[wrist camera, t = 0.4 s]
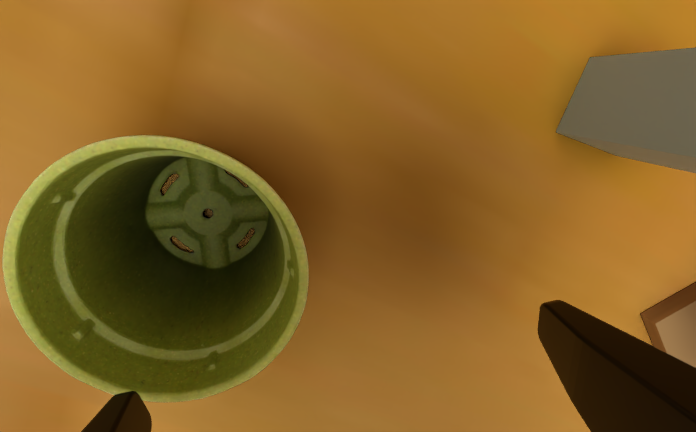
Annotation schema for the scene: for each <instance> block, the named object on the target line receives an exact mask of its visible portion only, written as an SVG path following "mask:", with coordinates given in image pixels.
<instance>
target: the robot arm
mask: <svg viewBox="0 0 696 432" xmlns="http://www.w3.org/2000/svg"><path fill="white" fill-rule="evenodd" d="M538 335H539V338H540V341H541V343H542V345H543V347H544V349H545V351H546V353H547V355H548V357H549V358H550V360H551V362H552V364H553V366H554V368H555V370H556V372H557V374H558V376H559V378H560V380H561V382H562V384H563V386H564V388H565V390H566V392H567V393H568V395H569V397H570V399H571V401H572V403H573V404H574V406H575V407H576V409H577V411H578V412H579V414H580V415H581V417H582V418H583V420H584V421H585V423H586V425H587V426H588V428H589V429H590V431H591V432H696V368H695V367H693V366H691V365H689V364H687V363H685V362H683V361H682V360H680V359H678V358H676V357H674V356H672V355H670V354H668V353H666V352H664V351H662V350H660V349H658V348H656V347H654V346H652V345H650V344H648V343H646V342H644V341H642V340H640V339H638V338H636V337H634V336H632V335H630V334H628V333H626V332H624V331H622V330H620V329H618V328H616V327H614V326H612V325H610V324H608V323H606V322H604V321H602V320H600V319H598V318H596V317H594V316H592V315H590V314H588V313H586V312H584V311H582V310H580V309H578V308H576V307H574V306H572V305H570V304H568V303H566V302H564V301H561V300H555V301H550V302H545V303H543V304H542V305H541V306H540V312H539V321H538ZM151 426H152V421H151V416H150V413H149V412H148V410H147V408H146V406H145V404H144V403H143V401H142V399H141V397H140V395H139V394H138V393H137V392H136V391H129V392H124V393H120V394H116V395H115V396H113V397H112V398H111V399H110V400H109V401H108V402H107V404H106V405H105V406H104V407H103V408H102V409H101V410H100V411H99V412H98V414H97V415H96V416H95V417H94V418H93V419H92V420H91V421H90V423H89V424H88V425H87V426H86V427H85V428H84V429H83V430H82V431H81V432H151Z"/></svg>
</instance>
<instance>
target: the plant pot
mask: <svg viewBox="0 0 696 432" xmlns="http://www.w3.org/2000/svg"><path fill="white" fill-rule="evenodd" d="M225 170H226V171H228V172H230V173H232V174H233V175H235V176H236V177H238V178H239V179H241V180H242V181H243V182H244V183H246V184H247V185H248V187H244V186H243V185H242V184H241V183H240V182H239V181H238V180H236V179H235V178H234V177H232V176H231V175H228V174H227V173H226V172H225ZM175 173H176V174H178V175H179V177H178V178H177V179H176V181H175V182H174V183H173V184H172V185H171V186H170V187H169V189H168V190H167V192H166V193H165V195H162V194H161V192H160V189H161V187H162V185H163V184H164V183H165V181H166V180H167V178H168V177H169V176H170V175H171V174H175ZM206 209H210V210H212V212H213V215H212V216H211V218H205V217H204V216H203V211H204V210H206ZM250 228H254V230H255V234H254V235H253V236H252V237H251V238H250V240H249V242H248V244H247V245H246V246H244V247H243V248H237V244H238V243H239V242H240V241H241V240H242V239H243V238H244V237H245V236H246V234H247V233H248V232H249V230H250ZM172 236H175V237H176V238H177V239H178V240H179V241H181V242H182V243H183V244H184V245H186V246H187V247H189V248H190V250H193V251H194V253H193V252H192V253H188V252H185V251H183V250H181V249H179V248H177V247H176V246H175V245H174V244H173V243H172V241H171V239H170V238H171V237H172ZM2 261H3V273H4V281H5V286H6V291H7V294H8V297H9V300H10V303H11V306H12V309H13V311H14V313H15V315H16V317H17V319H18V320H19V322H20V324H21V326H22V327H23V329H24V330H25V332H26V333H27V335H28V336H29V338H30V339H31V340H32V341H33V343H34V344H35V345H36V346H37V347H38V348H39V349H40V350H41V352H42V353H43V354H44V355H46V356H47V357H48V358H49V359H50V360H51V361H52V362H54V363H55V364H56V365H57V366H58V367H60V368H61V369H62V370H63V371H65V372H66V373H68V374H69V375H71V376H72V377H74V378H76V379H78V380H80V381H82V382H84V383H86V384H88V385H90V386H93V387H94V388H97V389H100V390H102V391H104V392H107V393H110V394H113V395H116V394H120V393H124V392H129V391H136V392H137V393H138V394H139V395H140V397H141V399H142V400H143V401H149V402H182V401H190V400H197V399H202V398H206V397H209V396H212V395H215V394H218V393H221V392H223V391H226V390H228V389H230V388H233V387H235V386H237V385H239V384H241V383H243V382H245V381H247V380H249V379H250V378H252V377H254V376H255V375H257V374H258V373H259V372H261V371H262V370H263V369H264V368H265V367H267V366H268V365H269V364H270V363H271V362H272V361H273V360H274V359H275V357H276V356H277V355H278V354H279V353H280V352H281V351H282V350H283V349H284V347H285V346H286V345H287V343H288V342H289V340H290V339H291V337H292V335H293V334H294V332H295V330H296V328H297V326H298V324H299V322H300V320H301V317H302V314H303V312H304V308H305V305H306V301H307V294H308V284H309V267H308V258H307V252H306V247H305V244H304V241H303V238H302V235H301V232H300V229H299V227H298V225H297V223H296V221H295V219H294V217H293V215H292V213H291V212H290V210H289V209H288V207H287V206H286V204H285V203H284V201H283V200H282V199H281V197H280V196H279V195H278V194H277V192H276V191H275V190H274V189H273V188H272V187H271V186H270V185H269V184H268V183H267V182H266V181H265V180H264V179H263V178H262V177H260V176H259V175H258V174H257V173H255V172H254V171H253V170H252V169H250V168H249V167H247V166H246V165H244V164H243V163H241V162H240V161H238V160H236V159H234V158H232V157H230V156H229V155H227V154H225V153H223V152H220V151H218V150H215V149H213V148H211V147H208V146H206V145H203V144H200V143H196V142H193V141H189V140H185V139H181V138H176V137H168V136H160V135H134V136H124V137H117V138H112V139H107V140H103V141H99V142H95V143H92V144H89V145H86V146H84V147H82V148H80V149H77V150H75V151H73V152H71V153H69V154H67V155H65V156H64V157H62V158H61V159H59V160H58V161H56V162H55V163H53V164H52V165H50V166H49V167H48V168H47V169H46V170H45V171H44V172H42V173H41V174H40V175H39V176H38V177H37V178H36V179H35V180H34V182H33V183H32V184H31V185H30V187H29V188H28V189H27V190H26V192H25V193H24V194H23V196H22V197H21V199H20V201H19V202H18V204H17V205H16V207H15V209H14V211H13V213H12V216H11V218H10V221H9V224H8V227H7V231H6V235H5V240H4V247H3V259H2Z"/></svg>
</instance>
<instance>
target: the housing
mask: <svg viewBox="0 0 696 432" xmlns="http://www.w3.org/2000/svg"><path fill="white" fill-rule="evenodd" d="M641 317H642V319H643V322H644V324H645V327H646V329H647V332H648V334H649V336H650V339H651V341H652V344H653V346H654V347H656V348H658V349H660V350H662V351H664V352H666V353H668V354H670V355H672V356H674V357H676V358H678V359H680V360H682V361H683V362H685V363H687V364H689V365H691V366H693V367H695V368H696V282H695V283H694V284H692V285H690V286H688V287H687V288H685V289H683V290H681V291H680V292H678V293H676V294H674V295H672V296H671V297H669V298H667V299H665V300H664V301H662V302H660V303H658V304H657V305H655V306H653V307H651V308H650V309H648V310H646V311H644V312H642V313H641Z"/></svg>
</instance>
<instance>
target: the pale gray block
mask: <svg viewBox="0 0 696 432" xmlns="http://www.w3.org/2000/svg"><path fill="white" fill-rule="evenodd" d="M556 132H557V133H559V134H562V135H564V136H567V137H570V138H572V139H575V140H577V141H580V142H582V143H585V144H588V145H590V146H593V147H595V148H598V149H600V150H603V151H606V152H608V153H611V154H613V155H616V156H620V157H625V158H629V159H634V160H638V161H643V162H647V163H652V164H656V165H661V166H665V167H670V168H674V169H679V170H683V171H688V172H692V173H696V48H687V49H676V50H665V51H654V52H643V53H632V54H621V55H610V56H599V57H590V59H589V61H588V63H587V65H586V67H585V69H584V71H583V74H582V76H581V78H580V80H579V82H578V84H577V87H576V89H575V91H574V93H573V95H572V97H571V100H570V102H569V104H568V106H567V108H566V110H565V113H564V115H563V117H562V119H561V121H560V123H559V126H558V128H557V130H556Z"/></svg>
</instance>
